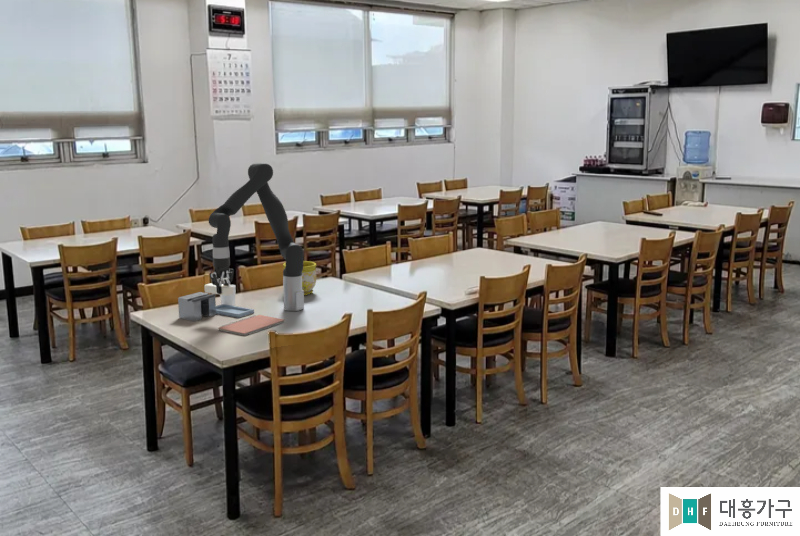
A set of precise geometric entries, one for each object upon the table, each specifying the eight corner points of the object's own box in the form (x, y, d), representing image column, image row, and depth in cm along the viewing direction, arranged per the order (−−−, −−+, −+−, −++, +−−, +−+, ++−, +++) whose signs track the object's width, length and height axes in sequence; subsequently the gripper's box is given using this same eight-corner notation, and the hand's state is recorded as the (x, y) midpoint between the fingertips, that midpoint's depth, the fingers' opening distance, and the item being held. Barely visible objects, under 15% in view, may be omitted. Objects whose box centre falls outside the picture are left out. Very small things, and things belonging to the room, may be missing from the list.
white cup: (228, 308, 365) (227, 288, 363) (216, 305, 369) (216, 286, 367) (239, 304, 372) (238, 285, 370) (228, 302, 376) (227, 283, 374)
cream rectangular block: (233, 293, 337) (233, 286, 337) (227, 295, 334) (226, 288, 333) (210, 290, 344) (210, 283, 343) (204, 292, 341) (204, 284, 340)
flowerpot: (323, 294, 397) (322, 264, 394) (294, 298, 386) (294, 268, 383) (305, 288, 411) (304, 259, 408) (277, 292, 399) (276, 263, 396)
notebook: (257, 317, 349) (257, 313, 349) (285, 323, 341) (284, 319, 340) (216, 331, 326) (216, 326, 326) (244, 337, 318) (244, 332, 318)
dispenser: (215, 314, 352) (215, 294, 350) (194, 321, 340) (193, 299, 338) (200, 311, 357) (199, 291, 355) (179, 318, 345) (178, 297, 343)
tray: (254, 312, 356) (253, 309, 356) (238, 317, 347) (238, 314, 346) (223, 307, 366) (223, 303, 366) (207, 312, 357) (207, 308, 356)
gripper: (216, 259, 326) (218, 296, 330) (238, 254, 338) (239, 290, 342) (203, 258, 330) (205, 294, 333) (226, 253, 342) (227, 288, 345)
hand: (223, 292), depth 338 cm, fingers closed on cream rectangular block, 4 cm apart
